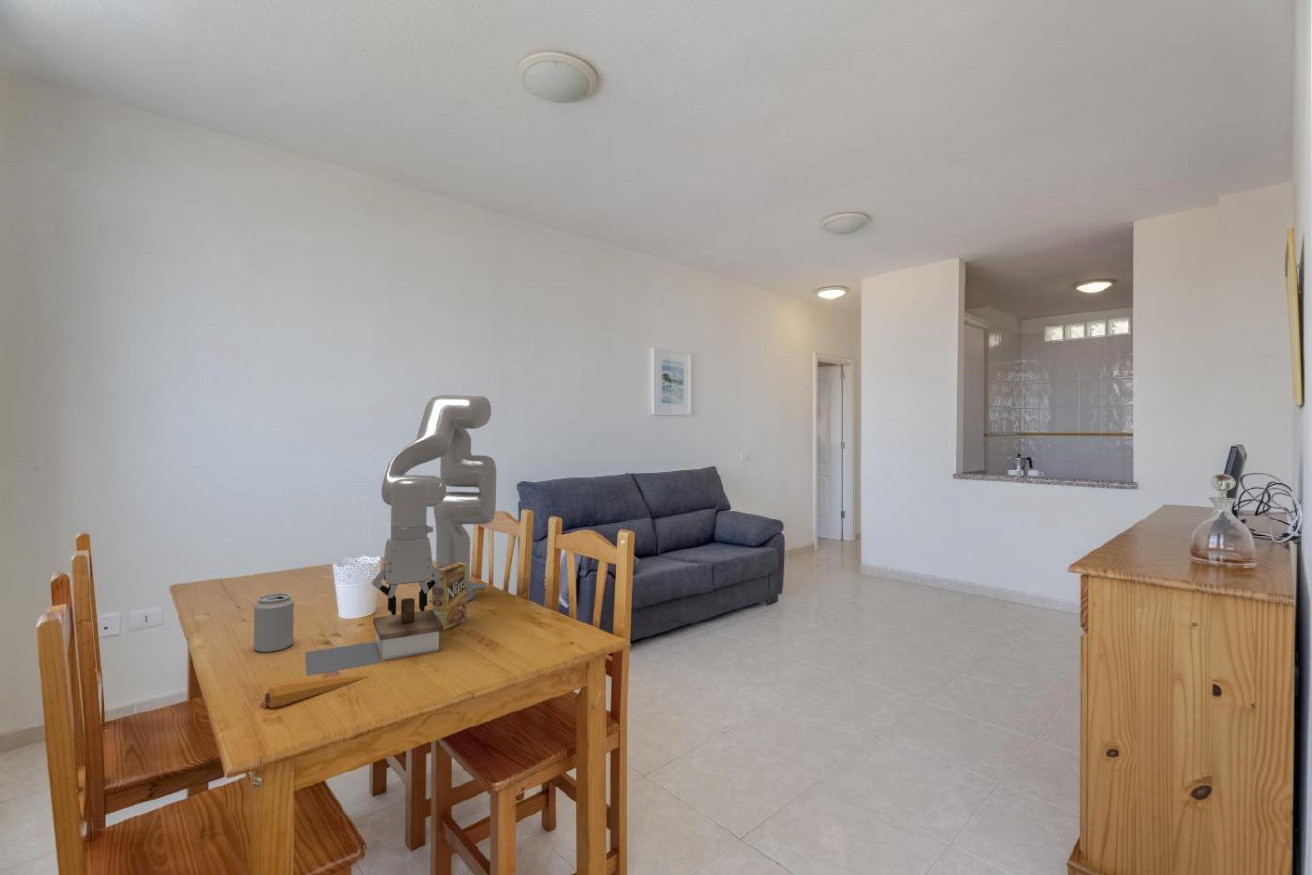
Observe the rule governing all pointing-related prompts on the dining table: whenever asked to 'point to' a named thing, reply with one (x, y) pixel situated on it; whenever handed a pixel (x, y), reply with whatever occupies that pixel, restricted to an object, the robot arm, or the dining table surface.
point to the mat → (341, 658)
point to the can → (273, 622)
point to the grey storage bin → (408, 645)
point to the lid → (407, 622)
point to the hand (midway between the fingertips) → (407, 610)
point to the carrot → (304, 689)
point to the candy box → (450, 594)
